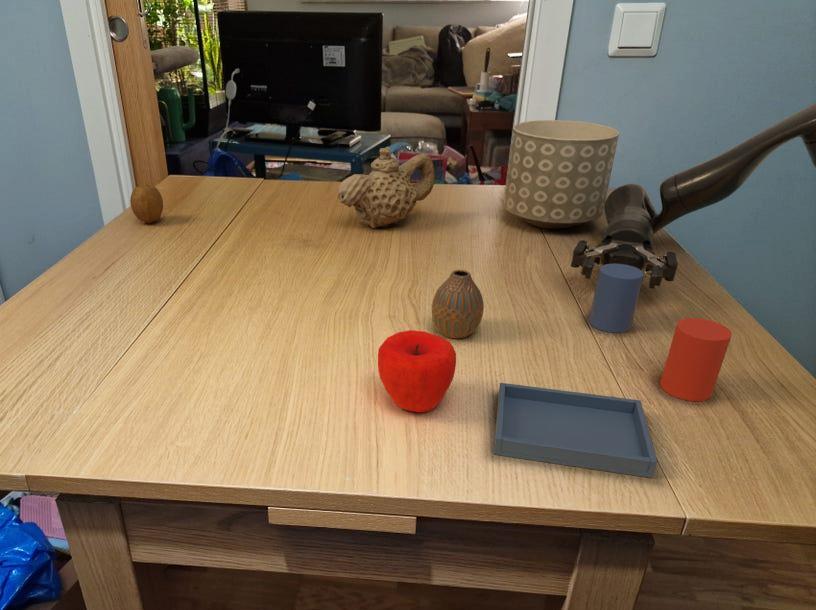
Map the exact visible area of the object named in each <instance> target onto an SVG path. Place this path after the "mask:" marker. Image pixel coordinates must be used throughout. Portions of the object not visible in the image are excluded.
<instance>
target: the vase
mask: <svg viewBox="0 0 816 610" xmlns="http://www.w3.org/2000/svg"><path fill="white" fill-rule="evenodd" d="M484 306H485V305H484V299H483V294H482V292H481V290H480V288H479V287H478V286H477V284H476V283H475V281H474V279H473V277H472V275H471V272H470V271H468V270H465V269H454V270H452V271H451V273H450V275H449V277H448V278H447V279H446V280H444V282H443V283H442V284H441V285H440V286H439V287H438V288H437V290H436V292H435V294H434V296H433V299H432V302H431V318H432V322H433V324H434V327H435V328H436V329H437V331H438V332H439V333H441V334H442V335H443V336H445V337H446V338H450V339H465V338H467V337H468V336H470V335H472V334H473V333H475V331H477V329H478V327H479V326H480V324H481V322H482V318H483V315H484V308H485V307H484Z"/></svg>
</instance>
